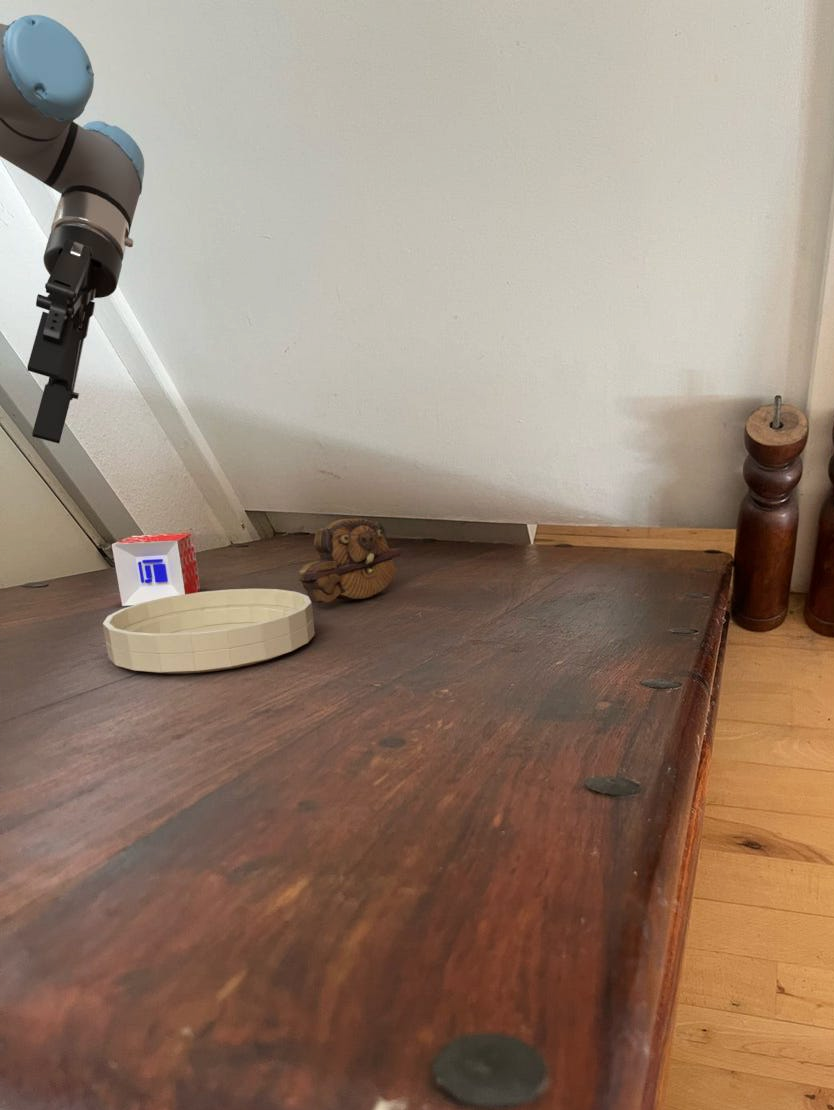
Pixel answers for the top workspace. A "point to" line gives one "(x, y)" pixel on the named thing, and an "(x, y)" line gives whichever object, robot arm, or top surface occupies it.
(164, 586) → the red boxy piece
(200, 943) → the top surface
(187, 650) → the bowl
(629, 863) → the top surface
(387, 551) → the wooden carving
